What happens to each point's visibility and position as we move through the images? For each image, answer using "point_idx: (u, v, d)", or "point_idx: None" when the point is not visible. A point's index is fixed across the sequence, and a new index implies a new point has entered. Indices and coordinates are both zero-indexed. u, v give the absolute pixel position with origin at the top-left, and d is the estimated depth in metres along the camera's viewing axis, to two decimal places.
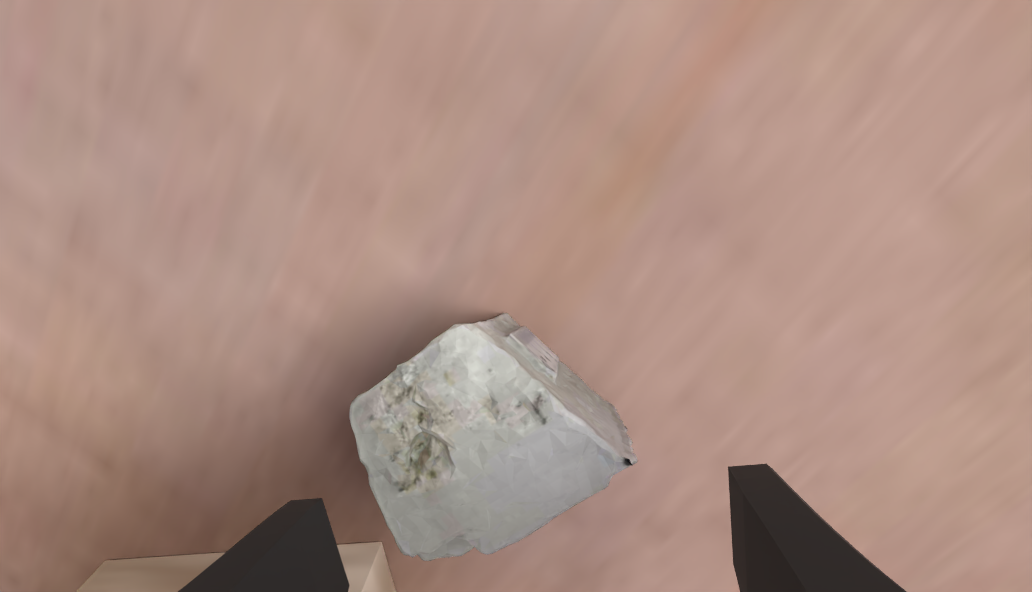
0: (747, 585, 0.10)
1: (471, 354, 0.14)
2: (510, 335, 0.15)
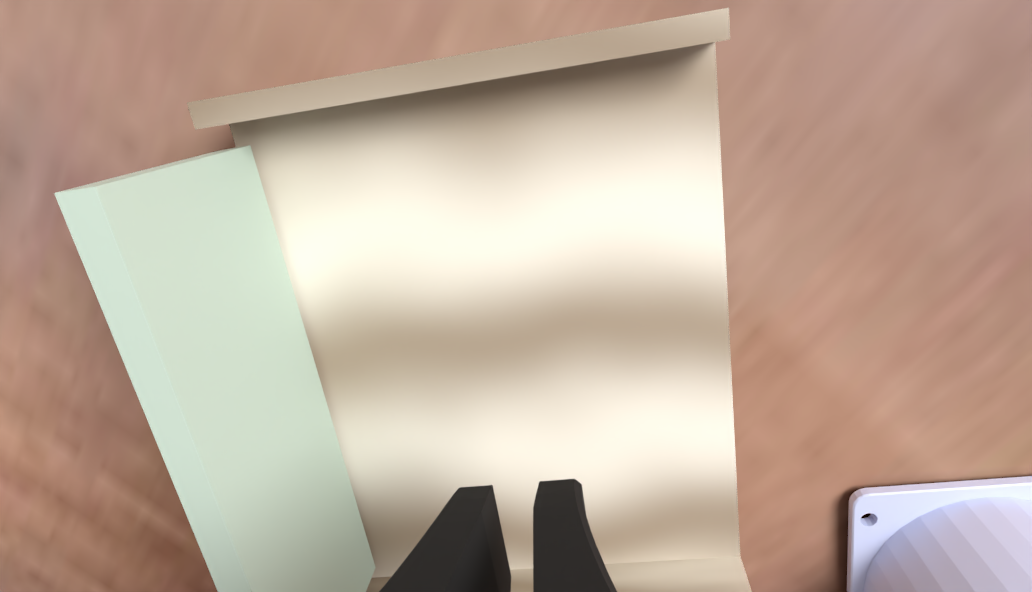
0: None
1: None
2: None
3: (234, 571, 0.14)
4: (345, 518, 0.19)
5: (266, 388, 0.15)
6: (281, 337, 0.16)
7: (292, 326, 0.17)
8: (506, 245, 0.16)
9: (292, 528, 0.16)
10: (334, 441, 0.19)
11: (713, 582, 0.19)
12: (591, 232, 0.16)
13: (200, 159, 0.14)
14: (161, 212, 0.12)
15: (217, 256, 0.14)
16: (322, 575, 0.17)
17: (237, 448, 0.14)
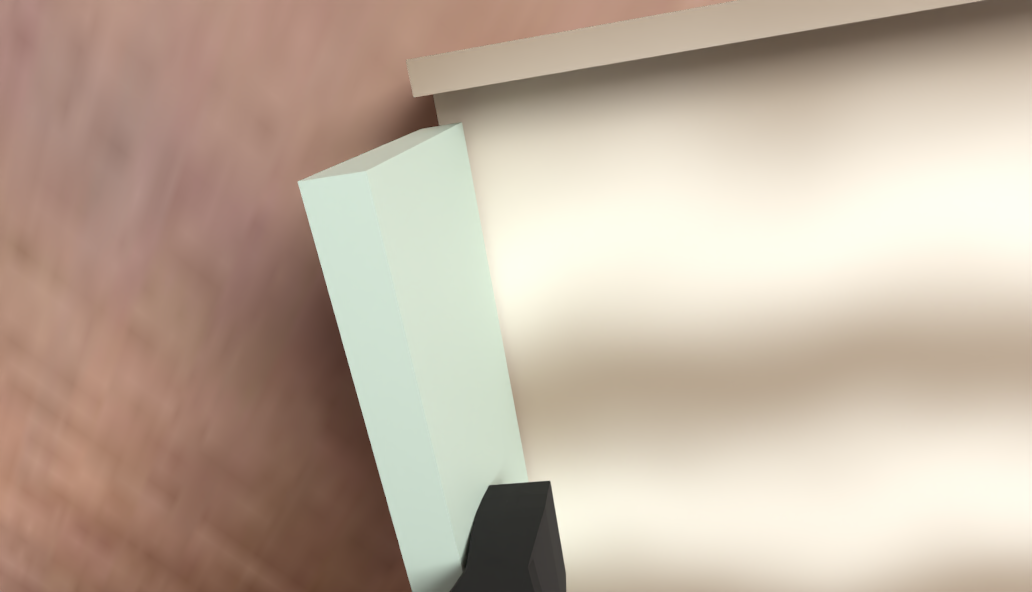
0: None
1: None
2: None
3: None
4: None
5: (493, 449, 0.11)
6: (496, 377, 0.12)
7: (499, 361, 0.13)
8: (791, 254, 0.12)
9: None
10: None
11: None
12: (912, 236, 0.12)
13: (434, 137, 0.10)
14: (415, 213, 0.08)
15: (453, 273, 0.10)
16: None
17: None
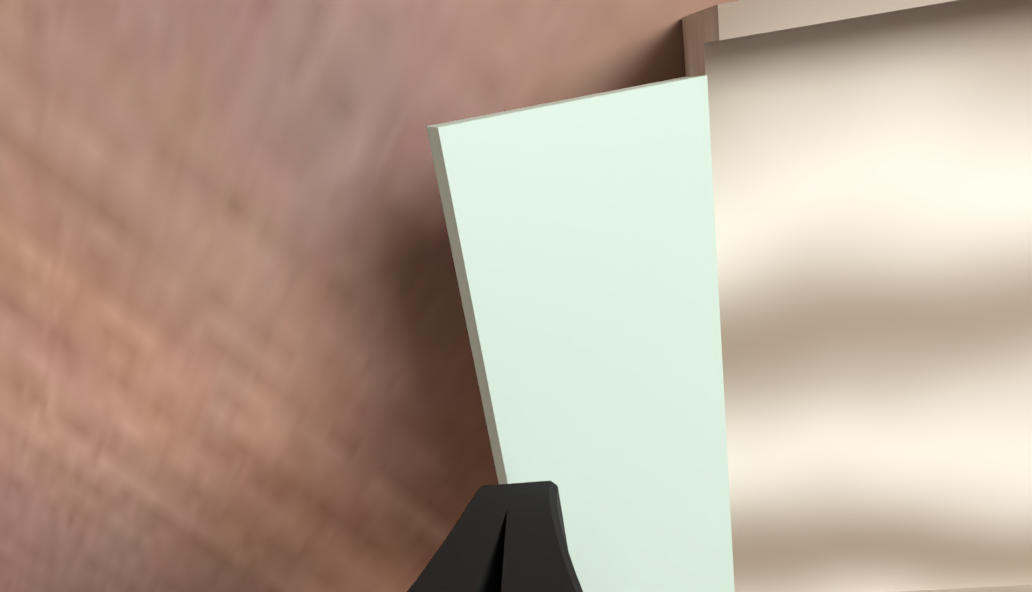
0: None
1: None
2: None
3: None
4: (702, 539, 0.16)
5: (619, 367, 0.13)
6: (670, 317, 0.14)
7: (695, 309, 0.14)
8: (1028, 195, 0.13)
9: (604, 517, 0.14)
10: (719, 452, 0.15)
11: None
12: None
13: (605, 95, 0.12)
14: (520, 158, 0.11)
15: (592, 212, 0.12)
16: (635, 578, 0.15)
17: (548, 416, 0.13)
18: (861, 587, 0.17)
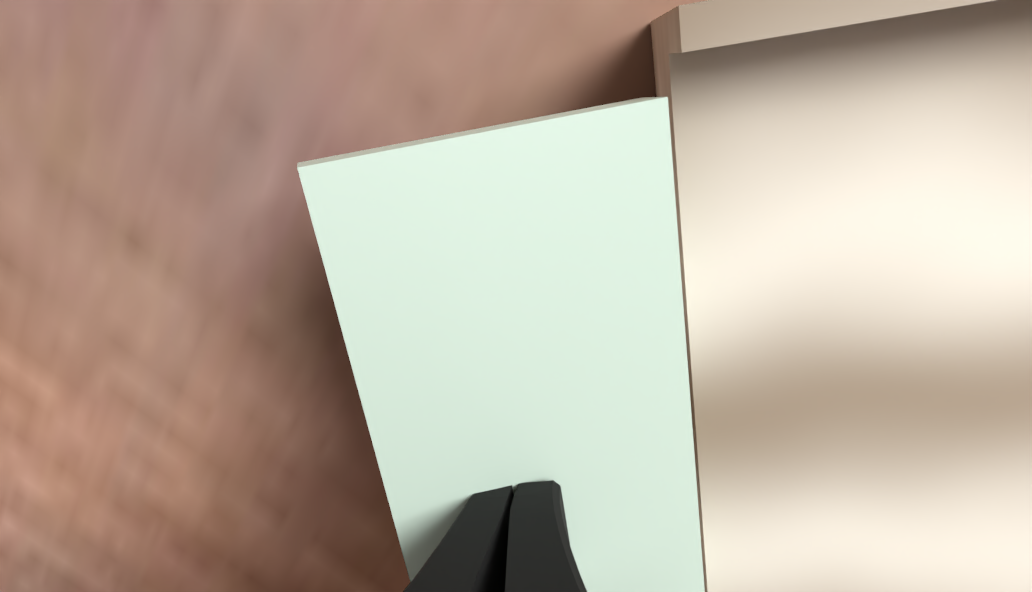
0: None
1: None
2: None
3: None
4: None
5: (558, 457, 0.11)
6: (624, 396, 0.11)
7: (658, 385, 0.11)
8: None
9: None
10: (691, 553, 0.12)
11: None
12: None
13: (528, 124, 0.09)
14: (414, 204, 0.09)
15: (516, 270, 0.10)
16: None
17: None
18: None
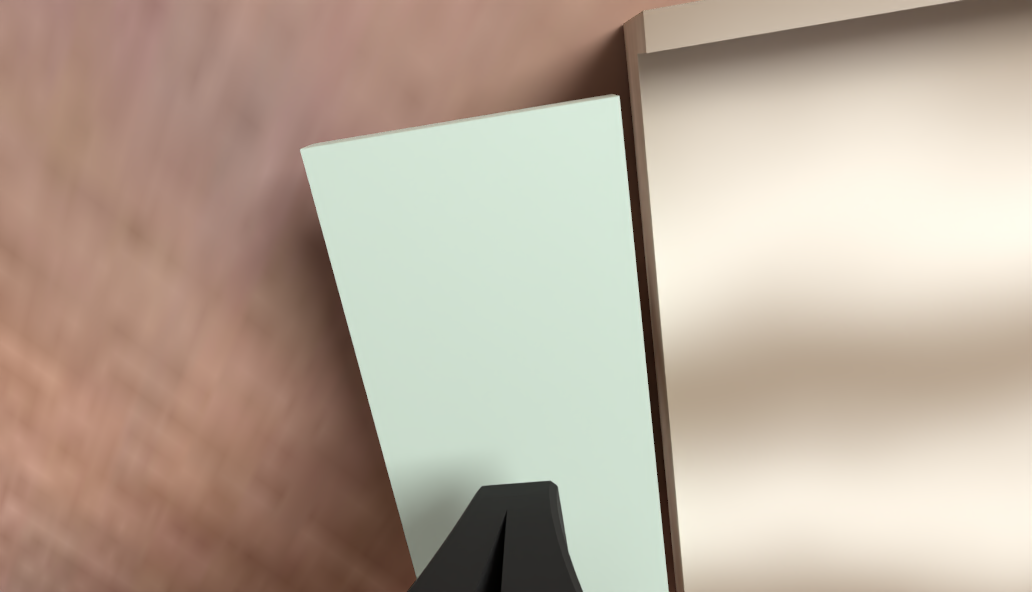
0: None
1: None
2: None
3: None
4: None
5: (517, 405, 0.13)
6: (579, 362, 0.12)
7: (613, 356, 0.12)
8: (1015, 229, 0.12)
9: None
10: (650, 516, 0.13)
11: None
12: None
13: (485, 119, 0.11)
14: (389, 181, 0.11)
15: (476, 241, 0.11)
16: None
17: (436, 440, 0.13)
18: None
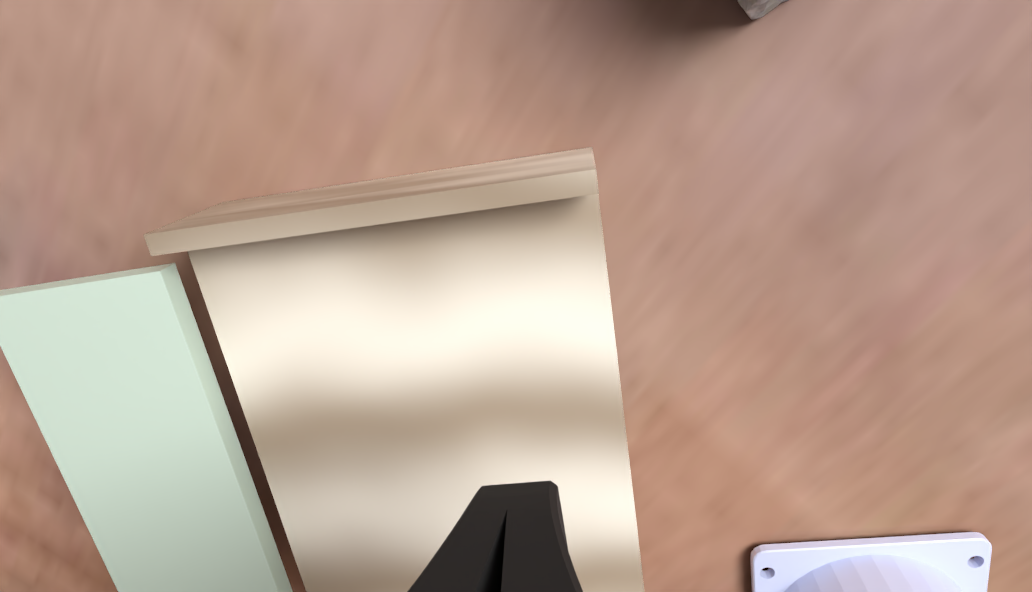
0: None
1: None
2: None
3: None
4: (246, 575, 0.22)
5: (142, 449, 0.20)
6: (174, 422, 0.20)
7: (195, 419, 0.19)
8: (427, 344, 0.19)
9: (156, 541, 0.21)
10: (244, 519, 0.21)
11: None
12: (500, 335, 0.18)
13: (84, 283, 0.18)
14: (35, 317, 0.18)
15: (94, 351, 0.19)
16: (193, 588, 0.22)
17: (95, 470, 0.20)
18: None
